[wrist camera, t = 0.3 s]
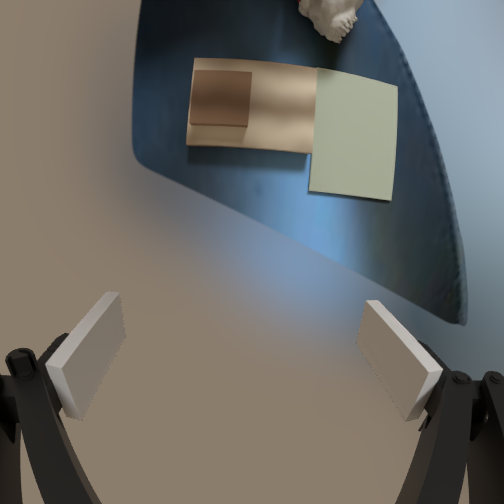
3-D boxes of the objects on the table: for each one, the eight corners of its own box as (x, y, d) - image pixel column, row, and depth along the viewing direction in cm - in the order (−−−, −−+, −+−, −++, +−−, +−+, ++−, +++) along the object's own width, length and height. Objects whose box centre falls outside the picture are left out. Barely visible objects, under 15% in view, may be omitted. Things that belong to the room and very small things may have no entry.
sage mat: (316, 68, 35) (316, 67, 35) (395, 87, 36) (397, 86, 36) (308, 190, 40) (309, 190, 39) (389, 200, 41) (391, 200, 40)
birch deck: (196, 64, 34) (194, 58, 32) (312, 73, 35) (317, 68, 33) (188, 145, 37) (186, 144, 35) (307, 154, 39) (312, 153, 36)
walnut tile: (196, 74, 32) (194, 69, 31) (251, 76, 33) (252, 72, 31) (191, 125, 34) (189, 123, 32) (247, 127, 35) (248, 125, 33)
